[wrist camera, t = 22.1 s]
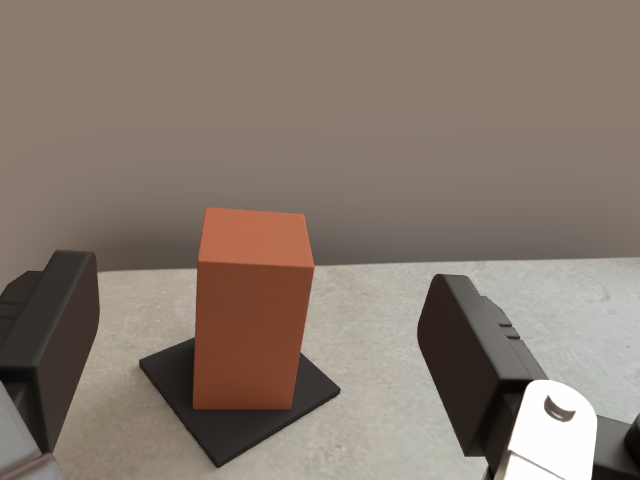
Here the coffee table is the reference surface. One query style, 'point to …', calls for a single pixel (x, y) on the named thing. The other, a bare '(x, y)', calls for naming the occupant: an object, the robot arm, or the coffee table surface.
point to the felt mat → (230, 425)
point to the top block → (250, 309)
